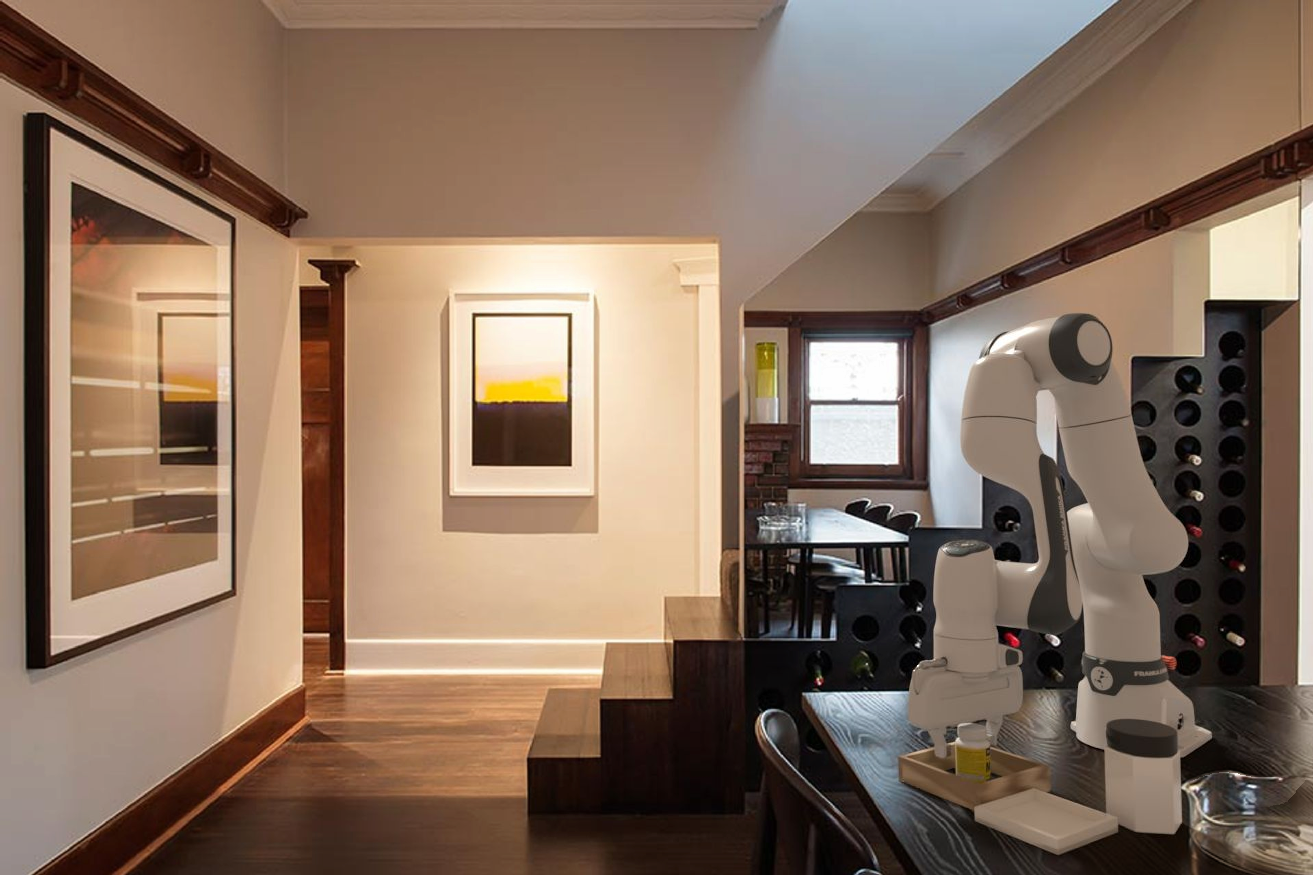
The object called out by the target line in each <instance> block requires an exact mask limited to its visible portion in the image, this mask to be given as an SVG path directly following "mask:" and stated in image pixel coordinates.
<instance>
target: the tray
mask: <svg viewBox="0 0 1313 875" xmlns="http://www.w3.org/2000/svg"><path fill="white" fill-rule="evenodd" d="M974 809H975V811H974V822H977V823H978V824H981V825H984V826H986V827H989V828H991V829H993V830H995V831H998V832H1001V833H1003V834H1005V835H1008V836H1010V837H1013V838H1016V839H1017V840H1020V841H1023V842H1024V843H1028V844H1030V845H1032V846H1035V847H1036V848H1039V849H1042V850H1044V851H1047V852H1049V853H1052V854H1055V855H1057V856H1060V855H1062V854H1065V853H1067V852H1070V851H1073V850H1075V849H1077V848H1078V849H1079V848H1080V847H1084V846H1087V845H1088V844H1092V843H1093V842H1096V841H1098V840H1101V839H1103V838H1106V837H1110V836H1112V835H1114V834H1116V833H1119V824H1118V817H1115V816H1112V815H1109V814H1106V812H1103V811H1100V810H1097V809H1094V808H1091V807H1089V806H1086V805H1083V804H1080V803H1077V802H1074V801H1071V800H1069V799H1066V798H1063V797H1060V796H1057V795H1055V794H1052V793H1050V792H1043V791H1041V790H1038V789H1035V788H1033V789H1030V790H1026V791H1023V792H1020V793H1017V794H1014V795H1011V796H1007V797H1004V798H1001V799H998V800H995V801H992V802H988V803H985V804H982V805H979V806H976V807H974Z"/></svg>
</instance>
